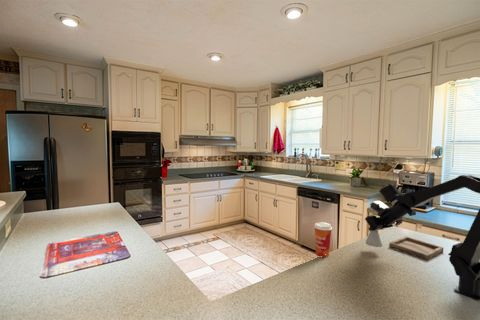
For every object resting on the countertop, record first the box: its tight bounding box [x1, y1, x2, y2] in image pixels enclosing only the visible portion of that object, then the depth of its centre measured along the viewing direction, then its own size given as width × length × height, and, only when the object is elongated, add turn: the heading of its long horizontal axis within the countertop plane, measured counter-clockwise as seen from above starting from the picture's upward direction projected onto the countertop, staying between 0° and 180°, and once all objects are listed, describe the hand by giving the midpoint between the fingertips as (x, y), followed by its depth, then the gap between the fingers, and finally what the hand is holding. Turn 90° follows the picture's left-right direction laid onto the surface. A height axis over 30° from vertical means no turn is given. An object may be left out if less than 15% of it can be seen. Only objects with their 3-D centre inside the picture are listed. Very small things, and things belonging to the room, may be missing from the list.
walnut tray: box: [388, 235, 444, 261], centre depth 117 cm, size 16×16×2 cm
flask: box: [365, 230, 383, 248], centre depth 114 cm, size 7×7×10 cm
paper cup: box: [313, 221, 333, 258], centre depth 110 cm, size 8×8×14 cm
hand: (371, 229), depth 115 cm, fingers closed on flask, 3 cm apart
